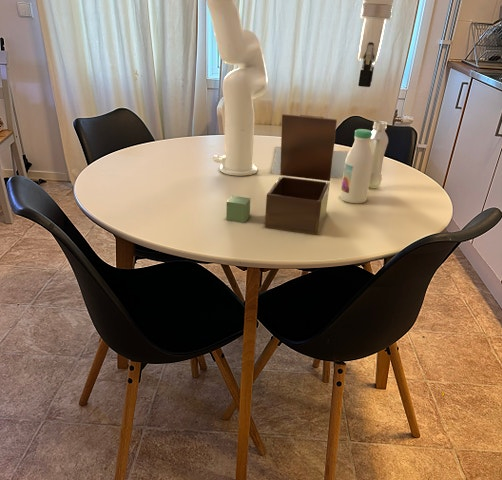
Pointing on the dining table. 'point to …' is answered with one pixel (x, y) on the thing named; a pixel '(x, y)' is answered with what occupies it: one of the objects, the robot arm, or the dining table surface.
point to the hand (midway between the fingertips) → (365, 84)
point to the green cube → (238, 209)
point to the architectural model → (337, 163)
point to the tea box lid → (307, 146)
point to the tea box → (296, 205)
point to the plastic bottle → (377, 152)
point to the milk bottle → (357, 169)
